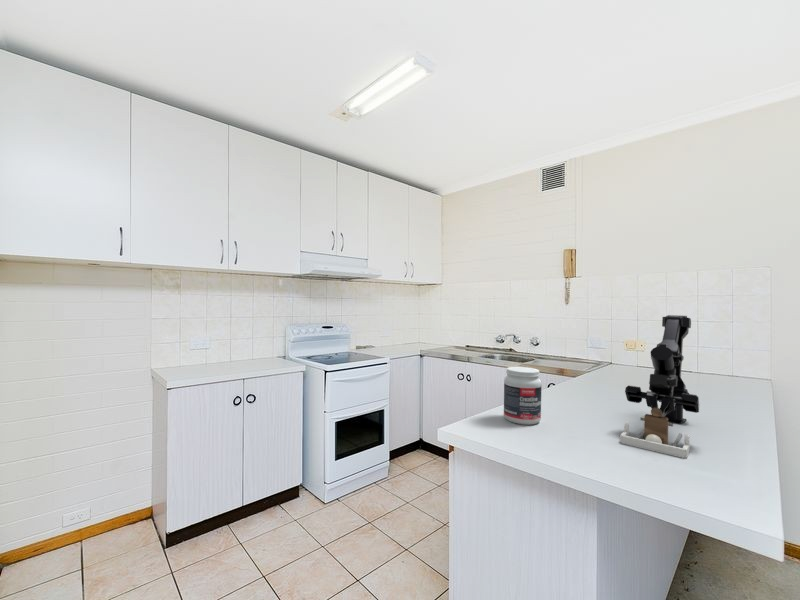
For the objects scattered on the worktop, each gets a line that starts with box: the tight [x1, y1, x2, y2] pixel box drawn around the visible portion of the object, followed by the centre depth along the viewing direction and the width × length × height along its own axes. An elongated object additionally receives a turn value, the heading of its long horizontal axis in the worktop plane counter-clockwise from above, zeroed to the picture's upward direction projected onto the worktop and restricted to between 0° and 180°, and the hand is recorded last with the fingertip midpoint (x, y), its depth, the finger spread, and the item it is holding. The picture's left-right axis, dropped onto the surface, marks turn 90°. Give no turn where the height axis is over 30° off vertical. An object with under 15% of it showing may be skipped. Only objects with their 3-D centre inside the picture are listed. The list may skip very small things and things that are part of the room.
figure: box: [639, 407, 674, 445], centre depth 112 cm, size 4×8×11 cm, turn 47°
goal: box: [619, 421, 691, 459], centre depth 110 cm, size 7×16×5 cm, turn 47°
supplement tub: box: [503, 366, 542, 426], centre depth 136 cm, size 13×13×18 cm
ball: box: [645, 434, 662, 444], centre depth 110 cm, size 4×4×4 cm
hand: (657, 421), depth 114 cm, fingers closed
